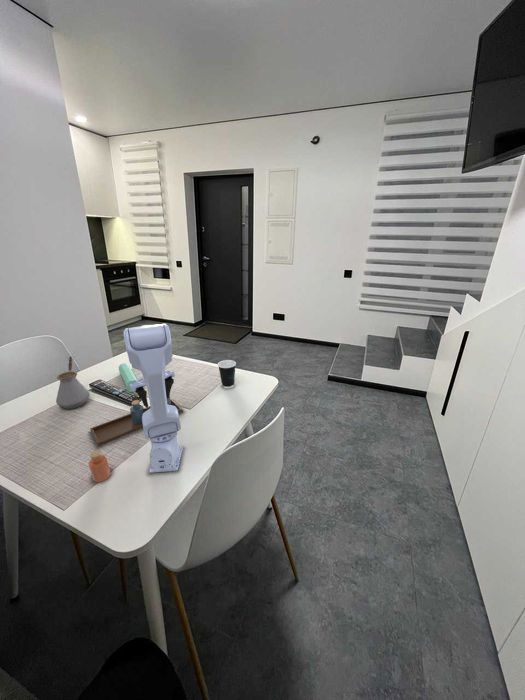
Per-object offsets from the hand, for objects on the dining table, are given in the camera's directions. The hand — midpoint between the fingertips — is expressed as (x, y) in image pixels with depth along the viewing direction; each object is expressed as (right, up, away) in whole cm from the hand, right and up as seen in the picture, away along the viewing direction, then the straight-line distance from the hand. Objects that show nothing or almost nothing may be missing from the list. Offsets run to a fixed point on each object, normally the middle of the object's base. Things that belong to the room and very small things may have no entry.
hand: (156, 401), depth 98 cm
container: (-26, +3, +35) cm, 44 cm away
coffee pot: (-41, -2, +21) cm, 47 cm away
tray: (-8, -8, +6) cm, 13 cm away
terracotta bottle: (-9, -18, -18) cm, 27 cm away
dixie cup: (+21, +1, +30) cm, 37 cm away
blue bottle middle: (-8, -8, +5) cm, 13 cm away
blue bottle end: (-1, -5, +11) cm, 13 cm away
